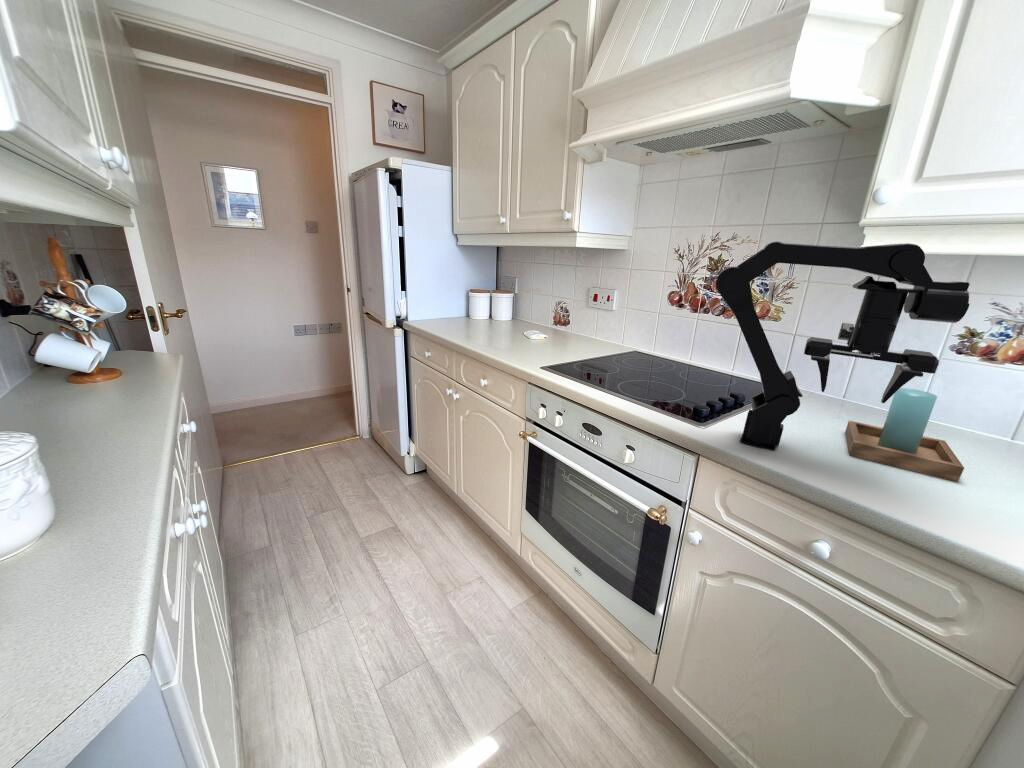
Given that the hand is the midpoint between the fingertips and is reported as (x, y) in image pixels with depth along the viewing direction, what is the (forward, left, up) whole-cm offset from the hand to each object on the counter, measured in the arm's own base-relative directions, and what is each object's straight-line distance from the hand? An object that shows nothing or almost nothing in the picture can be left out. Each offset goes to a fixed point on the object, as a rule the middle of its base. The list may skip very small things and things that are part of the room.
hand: (851, 396), depth 79 cm
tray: (+11, +10, -13) cm, 20 cm away
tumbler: (+11, +10, -12) cm, 19 cm away
